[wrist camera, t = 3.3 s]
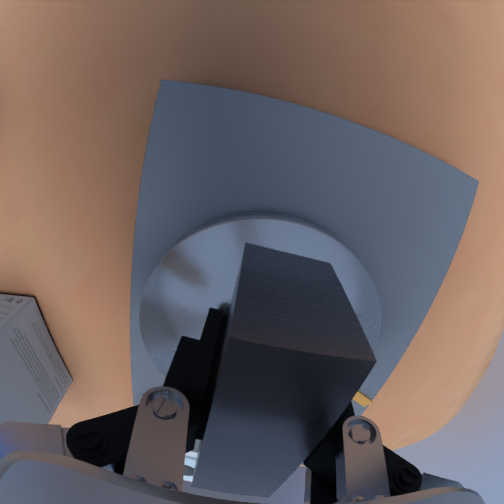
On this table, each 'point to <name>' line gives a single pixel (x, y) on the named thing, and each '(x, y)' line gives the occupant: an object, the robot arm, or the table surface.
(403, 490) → the robot arm
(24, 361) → the skincare box
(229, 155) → the gray rectangular base
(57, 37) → the table surface
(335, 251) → the cam foot dial
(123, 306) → the table surface
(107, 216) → the table surface
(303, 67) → the table surface
